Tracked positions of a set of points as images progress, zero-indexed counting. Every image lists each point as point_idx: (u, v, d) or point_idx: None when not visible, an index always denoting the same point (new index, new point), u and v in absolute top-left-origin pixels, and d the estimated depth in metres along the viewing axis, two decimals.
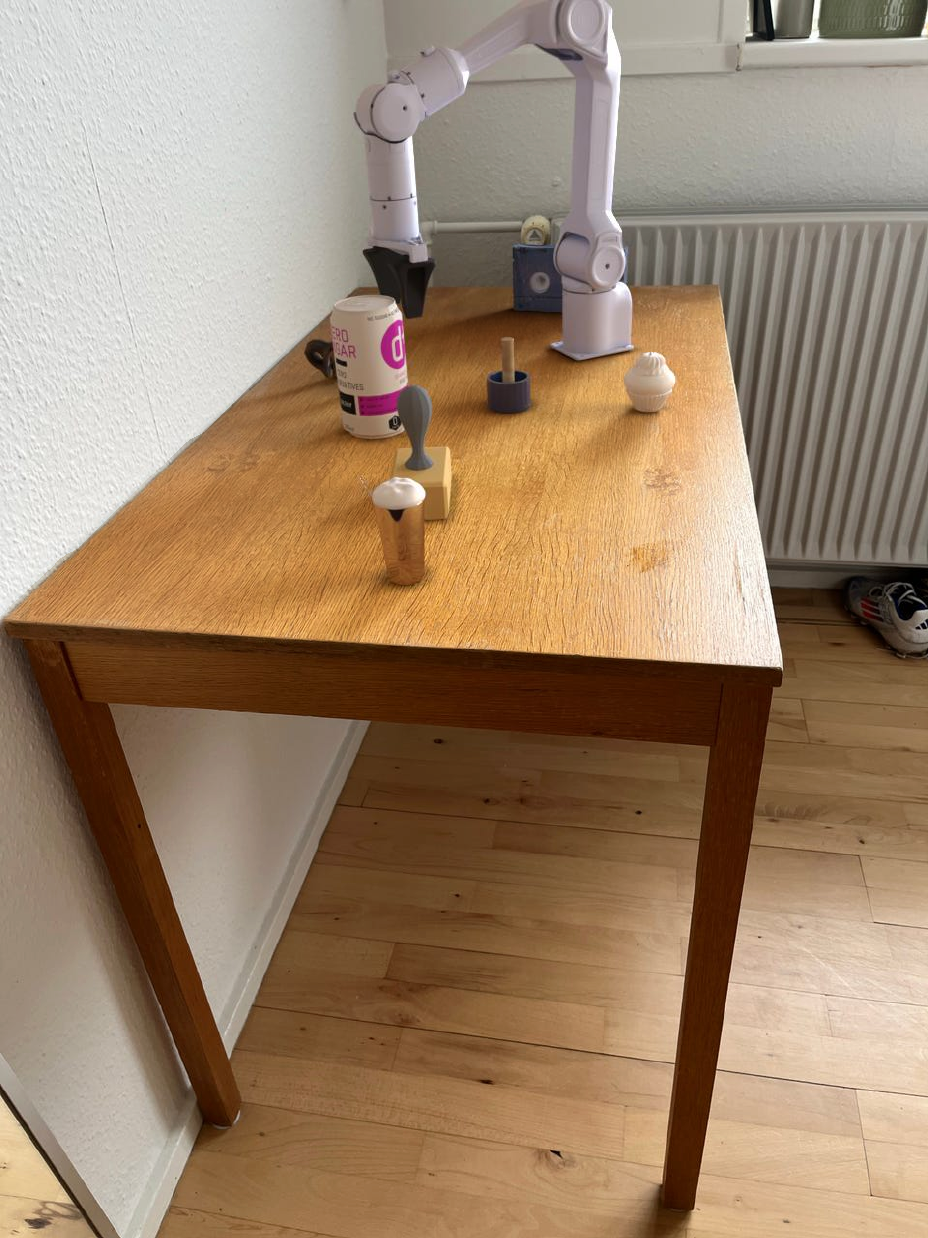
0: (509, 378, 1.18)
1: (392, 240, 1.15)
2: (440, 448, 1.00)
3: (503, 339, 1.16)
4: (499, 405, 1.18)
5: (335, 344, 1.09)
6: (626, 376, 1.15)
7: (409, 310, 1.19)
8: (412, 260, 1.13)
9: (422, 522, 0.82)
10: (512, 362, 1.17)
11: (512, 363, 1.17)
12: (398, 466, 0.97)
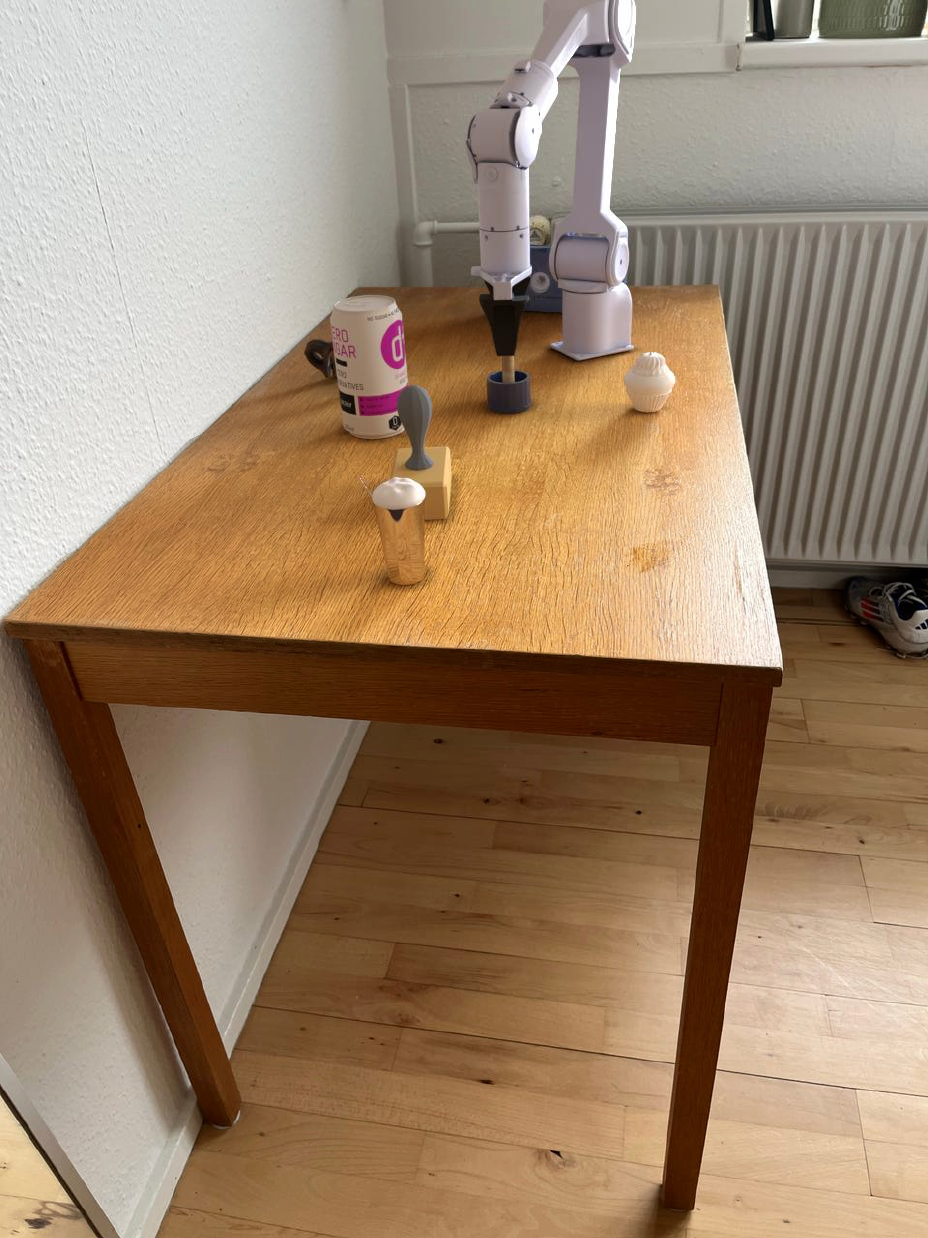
0: (509, 378, 1.18)
1: (491, 272, 1.09)
2: (440, 448, 1.00)
3: None
4: (499, 405, 1.18)
5: (335, 344, 1.09)
6: (626, 376, 1.15)
7: (499, 347, 1.12)
8: (494, 297, 1.06)
9: (422, 522, 0.82)
10: (512, 362, 1.17)
11: (512, 363, 1.17)
12: (398, 465, 0.97)
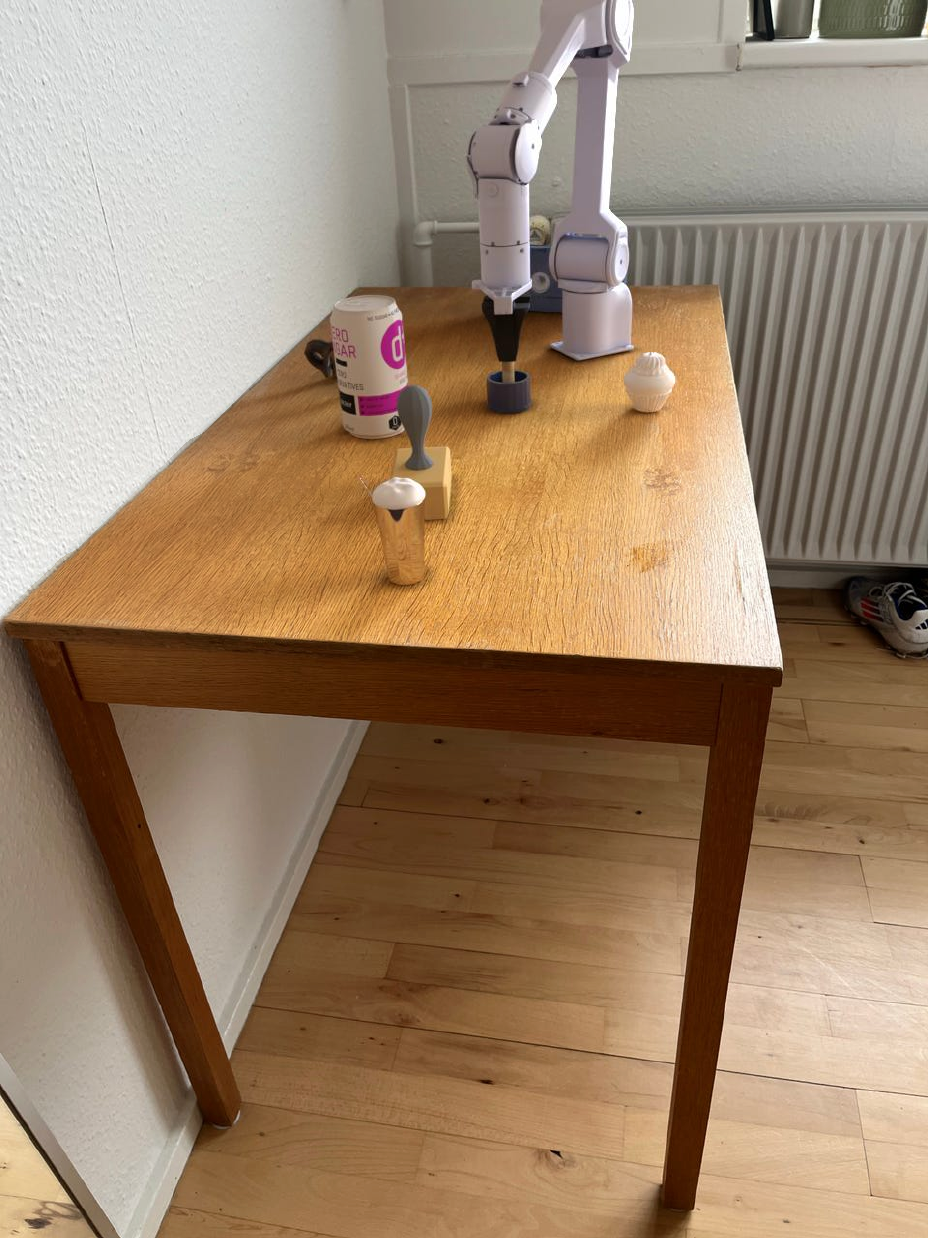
0: (509, 378, 1.18)
1: (491, 286, 1.10)
2: (440, 448, 1.00)
3: None
4: (499, 405, 1.18)
5: (335, 344, 1.09)
6: (626, 376, 1.15)
7: (501, 353, 1.15)
8: (494, 311, 1.07)
9: (422, 522, 0.82)
10: (512, 362, 1.17)
11: (512, 363, 1.17)
12: (398, 465, 0.97)
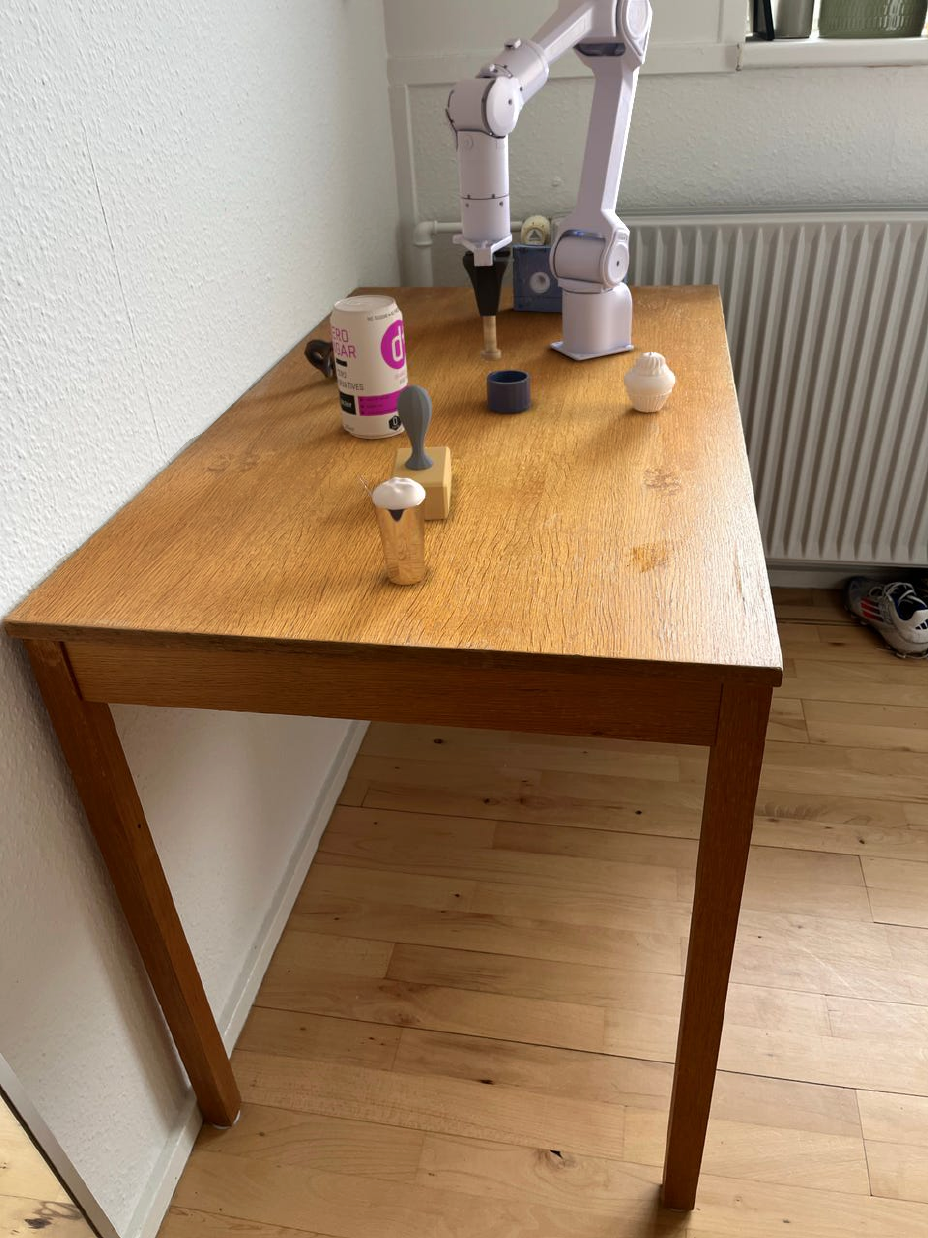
0: (490, 333, 1.19)
1: (472, 240, 1.12)
2: (440, 448, 1.00)
3: None
4: (499, 405, 1.18)
5: (335, 344, 1.09)
6: (626, 376, 1.15)
7: (482, 307, 1.17)
8: (474, 263, 1.09)
9: (422, 522, 0.82)
10: (493, 317, 1.19)
11: (493, 318, 1.19)
12: (398, 465, 0.97)
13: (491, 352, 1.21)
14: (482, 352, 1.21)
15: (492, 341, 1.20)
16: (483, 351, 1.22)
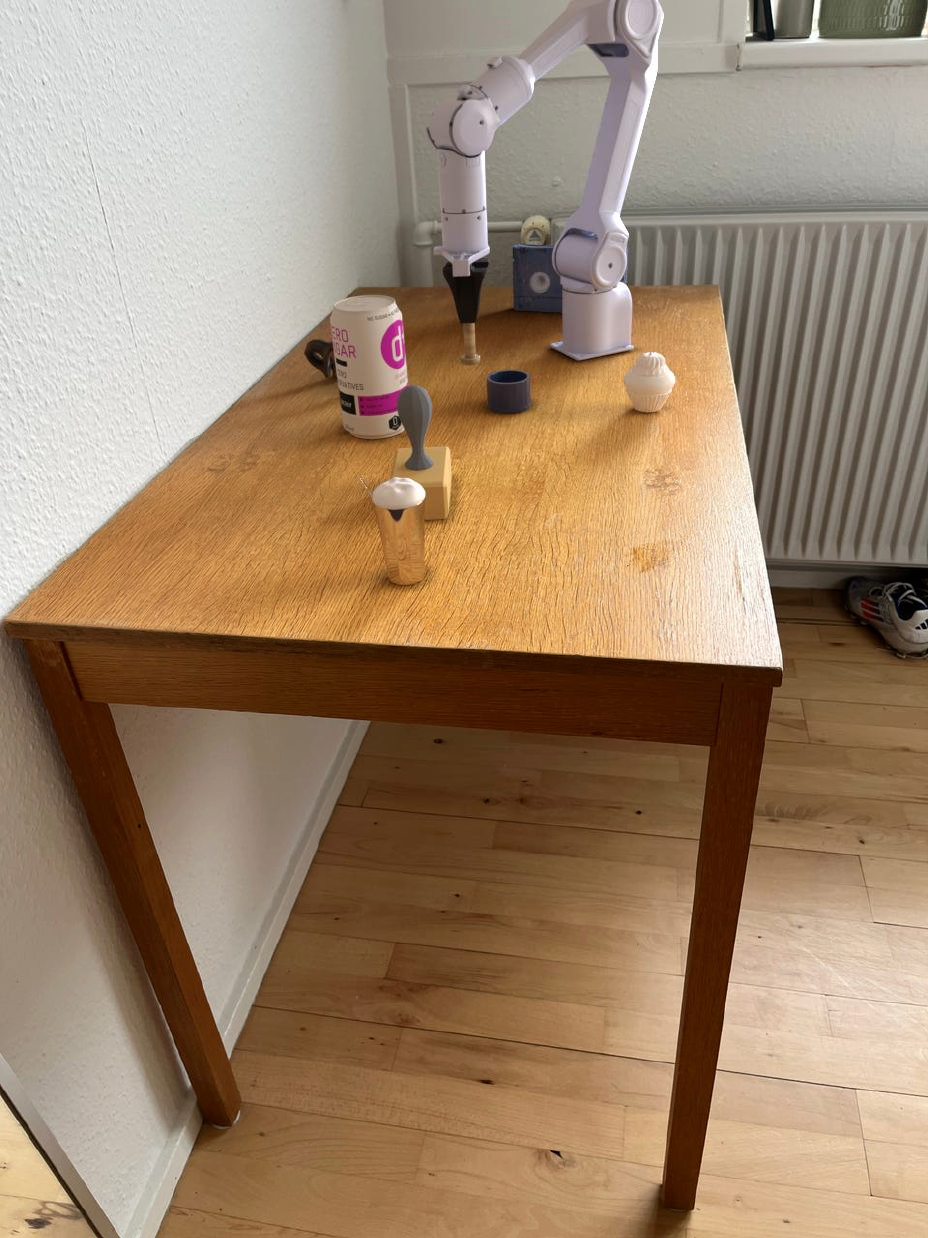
0: (470, 339, 1.26)
1: (451, 251, 1.18)
2: (440, 448, 1.00)
3: None
4: (499, 405, 1.18)
5: (335, 344, 1.09)
6: (626, 376, 1.15)
7: (461, 315, 1.24)
8: (453, 274, 1.15)
9: (422, 522, 0.82)
10: (472, 324, 1.25)
11: (472, 325, 1.25)
12: (398, 465, 0.97)
13: (471, 357, 1.27)
14: (462, 357, 1.28)
15: (471, 347, 1.27)
16: (463, 356, 1.28)
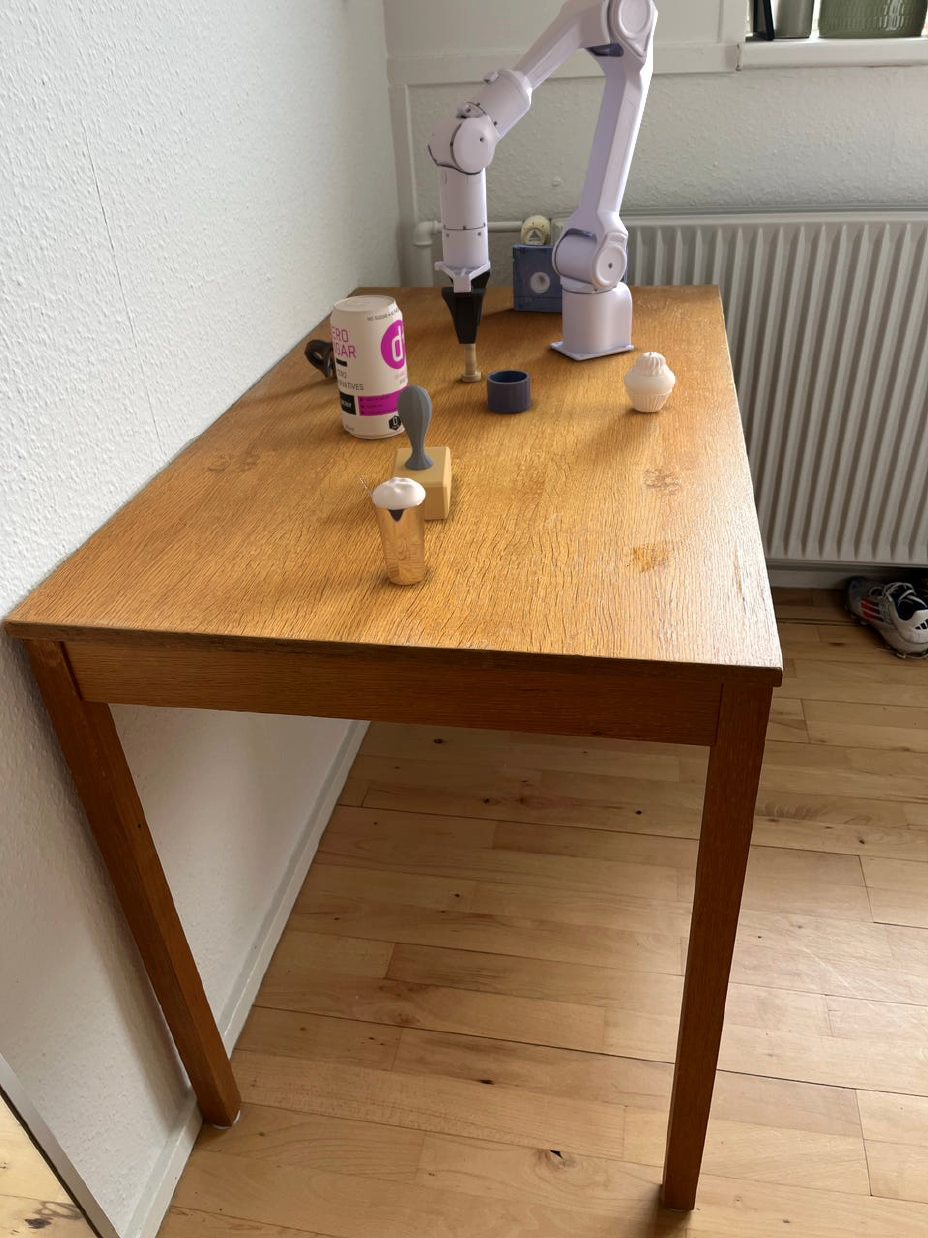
0: (471, 356, 1.27)
1: (452, 267, 1.19)
2: (440, 448, 1.00)
3: None
4: (499, 405, 1.18)
5: (335, 344, 1.09)
6: (626, 376, 1.15)
7: (461, 336, 1.22)
8: (454, 289, 1.16)
9: (422, 522, 0.82)
10: None
11: None
12: (398, 465, 0.97)
13: (471, 374, 1.29)
14: (463, 374, 1.29)
15: (472, 364, 1.28)
16: (464, 373, 1.29)
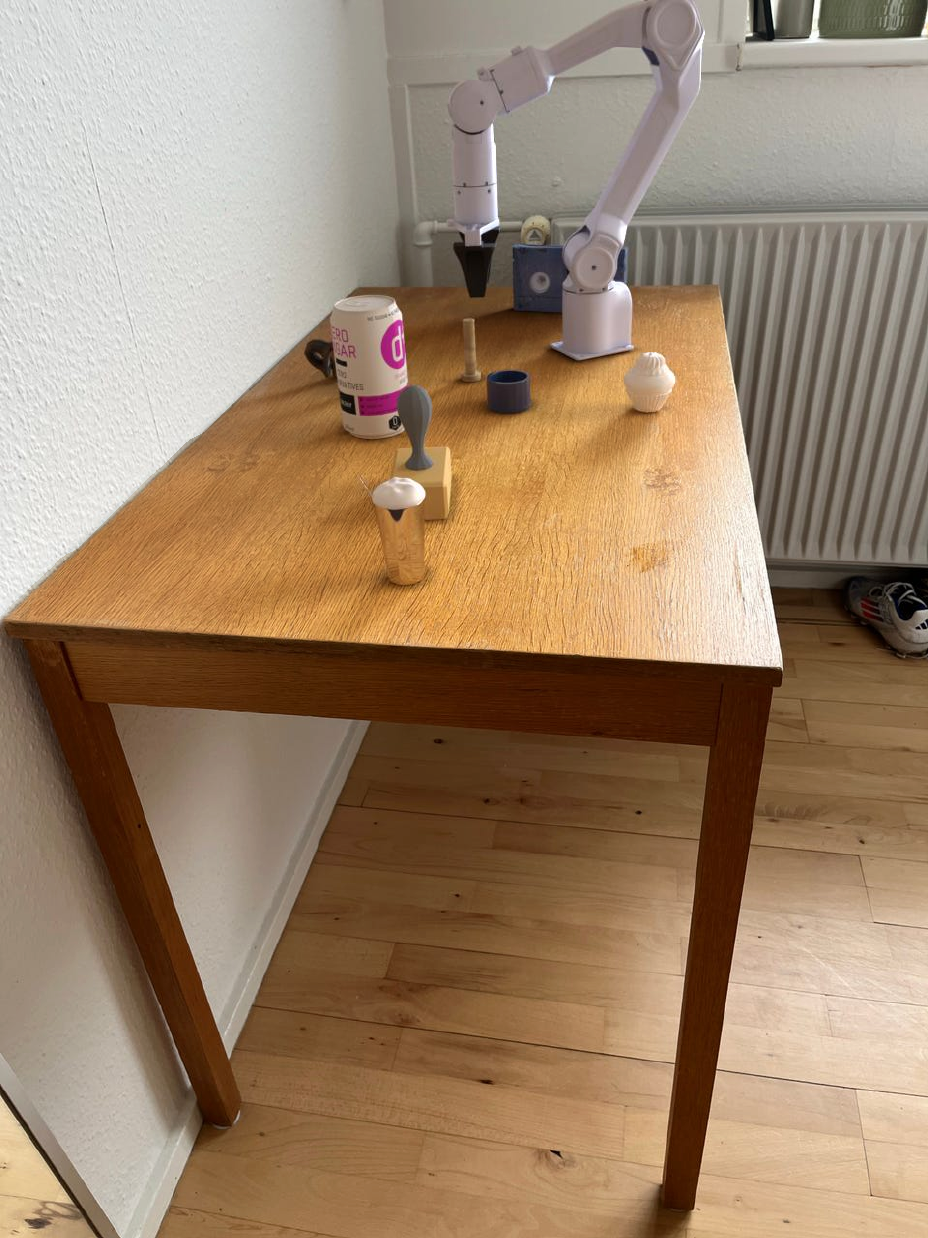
0: (471, 356, 1.27)
1: (463, 223, 1.26)
2: (440, 448, 1.00)
3: (464, 320, 1.25)
4: (499, 405, 1.18)
5: (335, 344, 1.09)
6: (626, 376, 1.15)
7: (471, 289, 1.29)
8: (465, 243, 1.23)
9: (422, 522, 0.82)
10: (473, 341, 1.26)
11: (473, 342, 1.26)
12: (398, 466, 0.97)
13: (471, 374, 1.29)
14: (463, 374, 1.29)
15: (472, 364, 1.28)
16: (464, 373, 1.29)
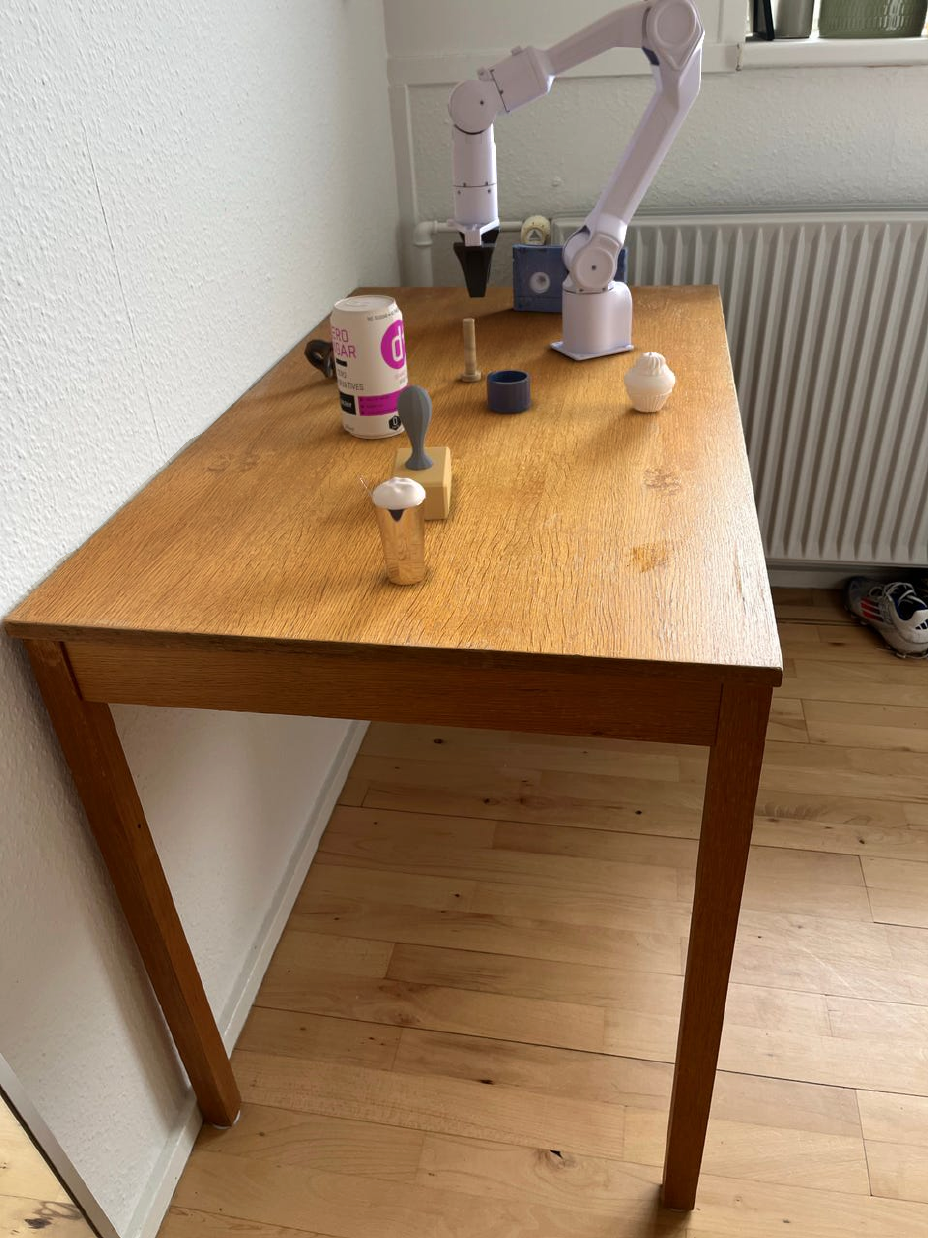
0: (471, 356, 1.27)
1: (463, 223, 1.26)
2: (440, 448, 1.00)
3: (464, 320, 1.25)
4: (499, 405, 1.18)
5: (335, 344, 1.09)
6: (626, 376, 1.15)
7: (471, 289, 1.29)
8: (465, 243, 1.23)
9: (422, 522, 0.82)
10: (473, 341, 1.26)
11: (473, 342, 1.26)
12: (398, 465, 0.97)
13: (471, 374, 1.29)
14: (463, 374, 1.29)
15: (472, 364, 1.28)
16: (464, 373, 1.29)
